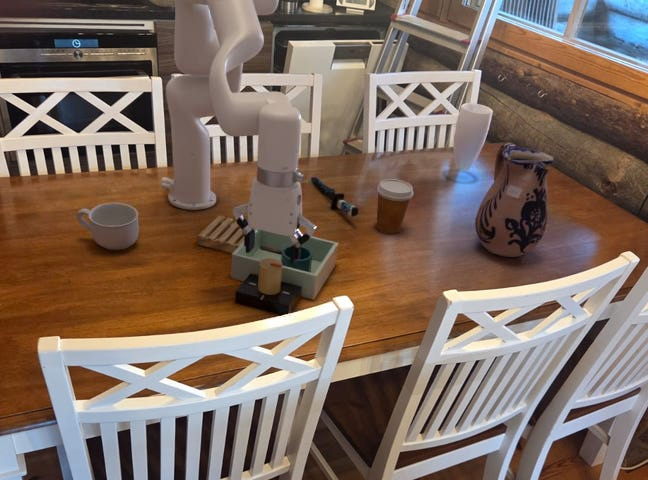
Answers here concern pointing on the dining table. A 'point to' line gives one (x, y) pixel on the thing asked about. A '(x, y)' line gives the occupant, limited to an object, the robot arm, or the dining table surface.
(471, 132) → the white vase
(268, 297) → the black dial base
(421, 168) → the dining table surface
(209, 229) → the rack
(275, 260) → the tap knob
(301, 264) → the pan
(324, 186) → the knife
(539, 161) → the ceramic pitcher
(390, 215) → the disposable coffee cup
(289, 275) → the pale green open box
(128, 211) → the teacup
